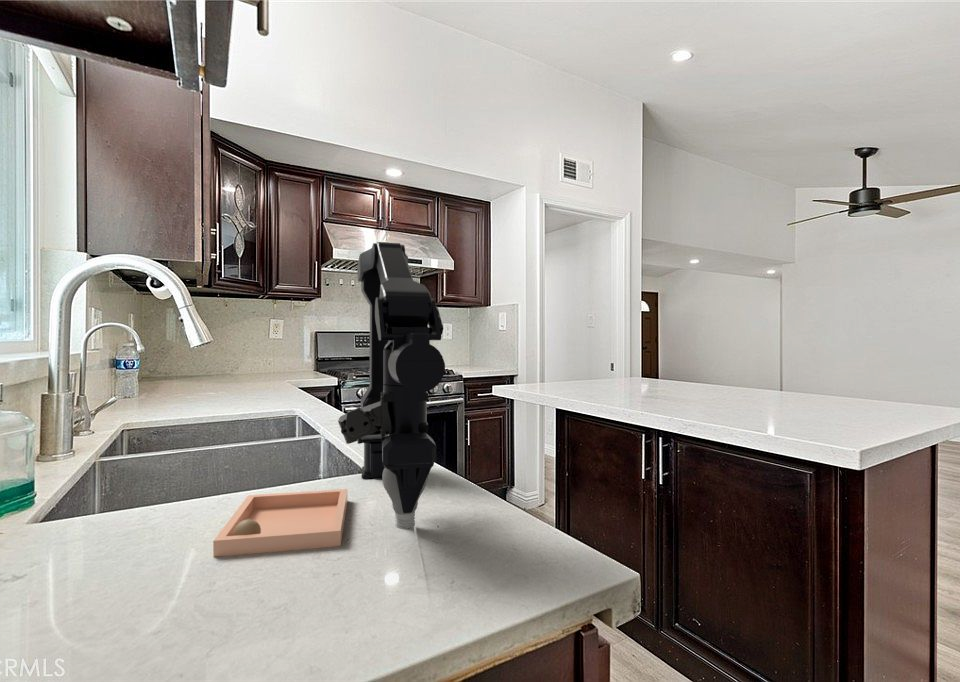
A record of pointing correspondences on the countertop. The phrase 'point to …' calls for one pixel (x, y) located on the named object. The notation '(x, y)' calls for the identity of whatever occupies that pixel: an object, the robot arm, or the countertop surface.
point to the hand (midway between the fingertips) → (405, 500)
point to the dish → (286, 522)
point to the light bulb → (392, 489)
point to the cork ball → (247, 528)
